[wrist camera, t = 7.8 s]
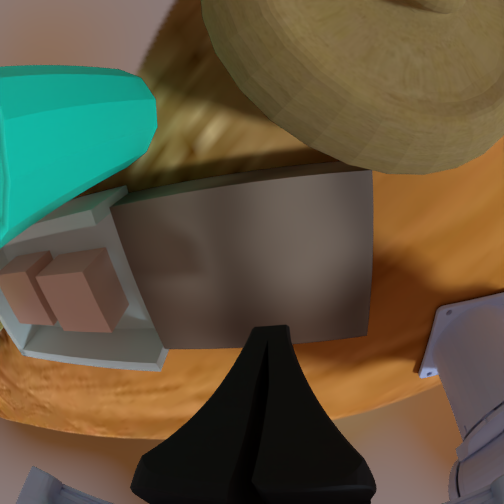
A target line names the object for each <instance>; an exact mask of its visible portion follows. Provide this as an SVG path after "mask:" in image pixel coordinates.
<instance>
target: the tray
mask: <svg viewBox="0 0 504 504" xmlns="http://www.w3.org/2000/svg"><path fill="white" fill-rule="evenodd" d="M127 194H128V190H127V186H126V185H125V186H121V187H117V188H112V189H108V190H105V191H101V192H97V193H93V194H89V195H86V196H82V197H78V198H75V199H71V200H69V201H68V202H66V203H65V204H63V205H62V206H60V207H58V208H57V209H55V210H54V211H52V212H51V213H49V214H48V215H46V216H45V217H43V218H42V219H40V220H39V221H37V222H36V223H35V224H33V225H32V226H30V227H29V228H27V229H26V230H25V231H23V232H22V233H20V234H19V235H18V236H16V237H15V238H14V239H12V240H11V241H10V242H8V243H7V244H6V245H4V246H3V247H2V248H1V249H0V270H1V269H2V268H3V267H5V266H6V265H7V264H8V263H9V262H10V261H12V260H13V259H14V258H15V257H16V256H21V255H26V254H31V253H36V252H42V251H47V250H50V253H51V255H52V258H53V259H55V258H56V257H57V256H58V255H59V254H65V253H71V252H78V251H84V250H91V249H97V248H104V247H106V249H107V251H108V254H109V257H110V259H111V262H112V264H113V267H114V269H115V272H116V274H117V277H118V279H119V282H120V284H121V286H122V289H123V291H124V293H125V296H126V298H127V300H128V302H129V306H128V307H127V309H126V311H125V312H124V314H123V315H122V317H121V319H120V320H119V322H118V324H117V325H116V327H115V329H114V330H113V332H112V333H104V332H76V331H64V330H63V328H62V327H61V325H60V323H59V321H57V322H56V323H55V324H54V326H53V325H35V324H21V323H20V322H19V321H18V319H17V317H16V316H15V314H14V312H13V310H12V309H11V307H10V305H9V303H8V301H7V300H6V298H5V296H4V294H3V292H2V290H1V288H0V321H1V323H2V324H3V326H4V328H5V329H6V331H7V332H8V334H9V335H10V337H11V339H12V340H13V342H14V343H15V345H16V346H17V348H18V349H19V351H20V352H21V354H22V355H24V356H29V357H34V358H40V359H45V360H52V361H58V362H65V363H72V364H79V365H87V366H96V367H105V368H116V369H128V370H142V371H161V369H162V367H163V364H164V361H165V359H166V356H167V353H168V351H169V349H165V348H164V346H163V344H162V342H161V340H160V338H159V336H158V333H157V331H156V329H155V327H154V325H153V322H152V320H151V318H150V315H149V313H148V311H147V308H146V306H145V304H144V301H143V299H142V297H141V294H140V292H139V289H138V287H137V284H136V282H135V279H134V277H133V274H132V271H131V269H130V266H129V264H128V261H127V258H126V255H125V253H124V250H123V247H122V244H121V241H120V239H119V236H118V233H117V230H116V227H115V224H114V221H113V218H112V215H111V211H110V208H109V207H110V206H112V205H113V204H114V203H116V202H117V201H118V200H120V199H121V198H123V197H124V196H125V195H127Z"/></svg>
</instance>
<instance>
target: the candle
mask: <svg viewBox="0 0 504 504" xmlns="http://www.w3.org/2000/svg"><path fill="white" fill-rule="evenodd" d="M156 129H157V114H156V99H155V97H154V96H153V95H152V93H151V92H150V90H149V89H148V87H147V86H146V84H145V83H144V81H143V80H142V78H140V77H138V76H135V75H133V74H130V73H127V72H125V71H122V70H119V69H110V68H99V67H85V66H64V65H25V66H5V67H0V249H1V248H2V247H3V246H4V245H6V244H7V243H8V242H10V241H11V240H12V239H14V238H15V237H16V236H18V235H19V234H20V233H22V232H23V231H25V230H26V229H27V228H29V227H30V226H32V225H33V224H35V223H36V222H37V221H39V220H40V219H42V218H43V217H45V216H46V215H48V214H49V213H51V212H52V211H54V210H55V209H57V208H58V207H60V206H62V205H63V204H65V203H66V202H68V201H69V200H71V199H73V198H74V197H76V196H78V195H79V194H81V193H82V192H84V191H86V190H88V189H89V188H91V187H93V186H94V185H96V184H98V183H100V182H101V181H103V180H105V179H107V178H108V177H110V176H112V175H114V174H116V173H117V172H119V171H121V170H123V169H125V168H127V167H128V166H129V165H131V164H132V163H133V162H134V161H136V160H137V159H138V158H139V157H141V156H142V155H143V154H145V153H146V152H147V150H148V147H149V145H150V143H151V140H152V138H153V136H154V133H155V131H156Z"/></svg>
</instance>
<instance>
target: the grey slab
mask: <svg viewBox="0 0 504 504" xmlns="http://www.w3.org/2000/svg"><path fill="white" fill-rule="evenodd" d="M109 208H110V211H111V215H112V218H113V221H114V224H115V227H116V230H117V233H118V236H119V239H120V241H121V244H122V247H123V250H124V253H125V255H126V258H127V261H128V264H129V266H130V269H131V271H132V274H133V277H134V279H135V282H136V284H137V287H138V289H139V292H140V294H141V297H142V299H143V301H144V304H145V306H146V308H147V311H148V313H149V315H150V318H151V320H152V322H153V325H154V327H155V329H156V331H157V333H158V336H159V338H160V340H161V342H162V344H163V346H164V348H165V349H217V348H242V347H244V345H245V343H246V341H247V339H248V337H249V335H250V333H251V330H252V329H253V328H254V327H259V326H273V325H285V324H286V325H288V326H289V327H290V336H291V342H292V344H299V343H310V342H320V341H329V340H337V339H345V338H353V337H360V336H367V331H368V321H369V310H370V297H371V282H372V261H373V180H372V170H370V169H366V168H362V167H357V166H353V165H348V164H346V163H344V162H342V161H336V162H325V163H314V164H304V165H295V166H286V167H278V168H270V169H262V170H255V171H248V172H241V173H234V174H227V175H221V176H215V177H209V178H203V179H197V180H191V181H186V182H181V183H175V184H170V185H165V186H160V187H155V188H150V189H145V190H140V191H136V192H131V193H128V194H127V195H125V196H124V197H123V198H121V199H120V200H118V201H117V202H116V203H114V204H113V205H112V206H110V207H109Z"/></svg>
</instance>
